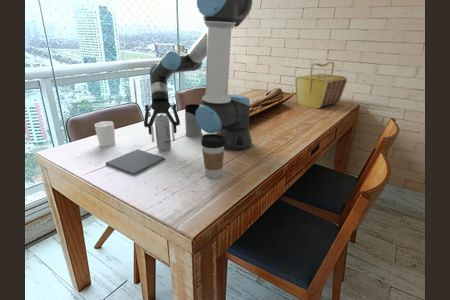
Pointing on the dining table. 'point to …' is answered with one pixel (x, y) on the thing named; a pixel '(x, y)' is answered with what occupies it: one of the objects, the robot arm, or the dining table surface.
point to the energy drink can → (162, 133)
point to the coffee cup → (213, 154)
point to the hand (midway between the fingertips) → (163, 140)
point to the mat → (135, 161)
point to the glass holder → (192, 121)
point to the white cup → (105, 133)
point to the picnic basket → (319, 88)
